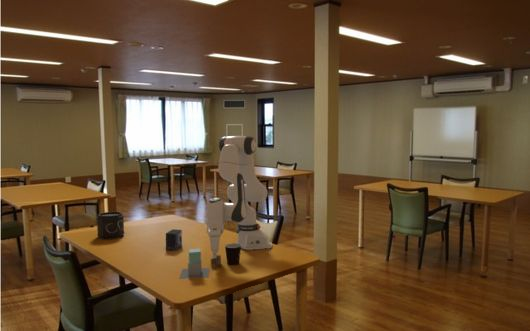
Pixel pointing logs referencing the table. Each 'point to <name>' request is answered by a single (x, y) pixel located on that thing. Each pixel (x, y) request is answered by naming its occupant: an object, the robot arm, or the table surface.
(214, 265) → the walnut block
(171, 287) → the table surface
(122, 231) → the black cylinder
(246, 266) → the table surface
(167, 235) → the small box
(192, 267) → the slate block
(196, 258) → the teal block
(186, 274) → the mat
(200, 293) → the table surface
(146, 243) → the table surface
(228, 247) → the coffee mug
